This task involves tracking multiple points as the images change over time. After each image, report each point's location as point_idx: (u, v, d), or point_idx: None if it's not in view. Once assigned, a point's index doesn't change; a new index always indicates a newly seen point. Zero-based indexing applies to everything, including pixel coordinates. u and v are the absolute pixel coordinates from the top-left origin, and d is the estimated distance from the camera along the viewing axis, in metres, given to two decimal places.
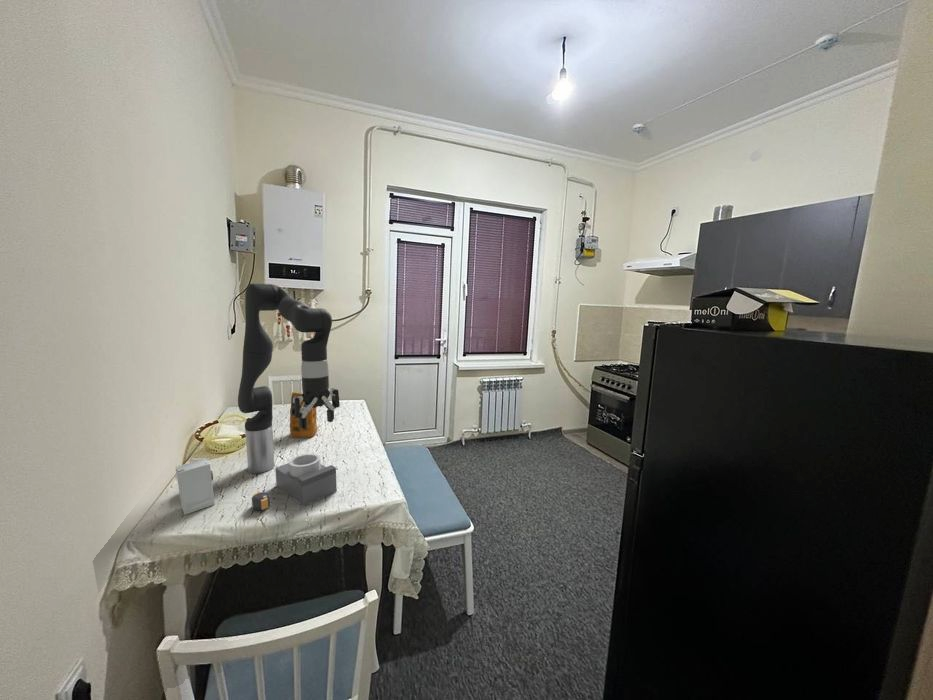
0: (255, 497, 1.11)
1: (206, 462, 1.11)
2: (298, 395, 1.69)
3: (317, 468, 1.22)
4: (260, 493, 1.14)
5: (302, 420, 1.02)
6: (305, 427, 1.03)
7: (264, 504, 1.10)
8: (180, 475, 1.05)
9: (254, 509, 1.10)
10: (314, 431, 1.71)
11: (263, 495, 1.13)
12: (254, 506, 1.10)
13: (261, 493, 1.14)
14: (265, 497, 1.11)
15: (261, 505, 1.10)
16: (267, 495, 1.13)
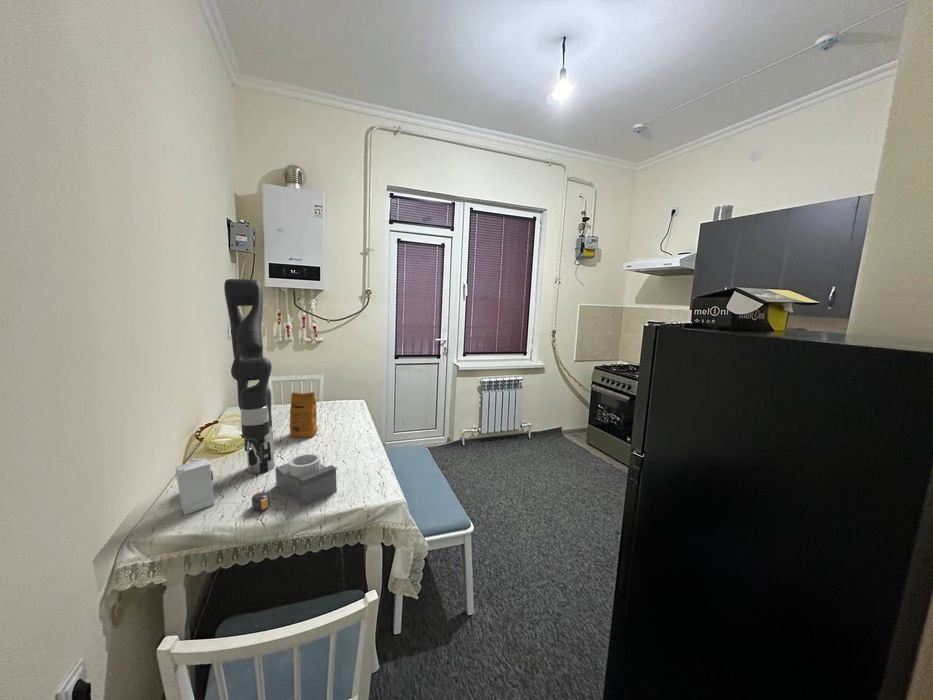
0: (255, 497, 1.11)
1: (206, 462, 1.11)
2: (298, 395, 1.69)
3: (317, 468, 1.22)
4: (260, 493, 1.14)
5: None
6: None
7: (264, 504, 1.10)
8: (180, 475, 1.05)
9: (254, 509, 1.10)
10: (314, 431, 1.71)
11: (263, 495, 1.13)
12: (254, 506, 1.10)
13: (261, 493, 1.14)
14: (265, 497, 1.11)
15: (261, 505, 1.10)
16: (267, 495, 1.13)
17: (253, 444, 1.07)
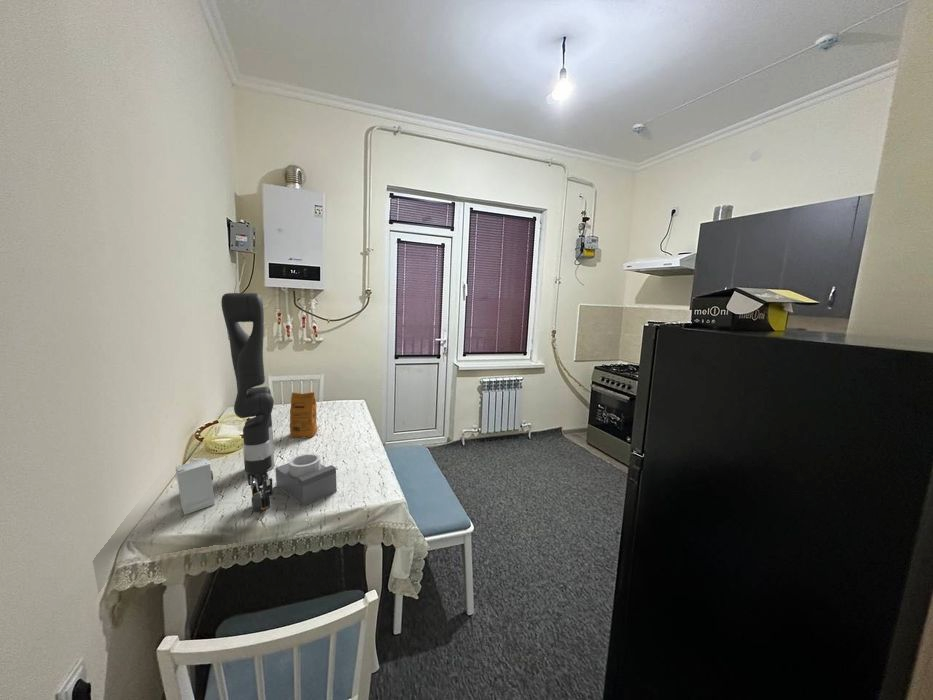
0: (255, 497, 1.11)
1: (206, 462, 1.11)
2: (298, 395, 1.69)
3: (317, 468, 1.22)
4: None
5: None
6: None
7: None
8: (180, 475, 1.05)
9: (254, 509, 1.10)
10: (314, 431, 1.71)
11: None
12: (254, 506, 1.10)
13: None
14: None
15: None
16: None
17: (256, 479, 1.08)
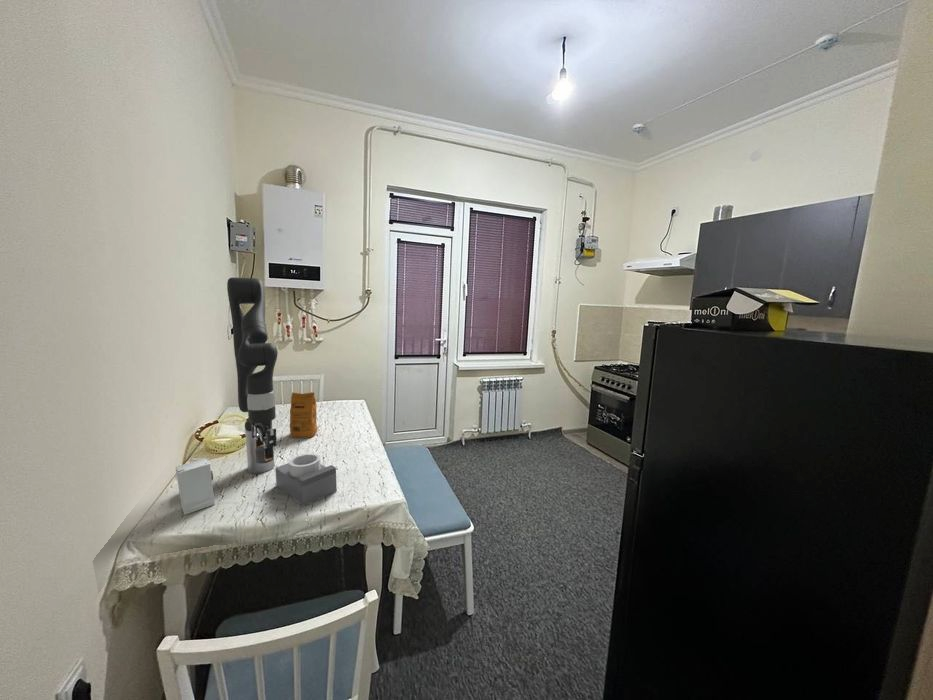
0: (259, 449, 1.11)
1: (206, 462, 1.11)
2: (298, 395, 1.69)
3: (317, 468, 1.22)
4: None
5: None
6: None
7: None
8: (180, 475, 1.05)
9: (257, 460, 1.10)
10: (314, 431, 1.71)
11: None
12: (257, 457, 1.09)
13: None
14: None
15: None
16: None
17: (259, 429, 1.08)
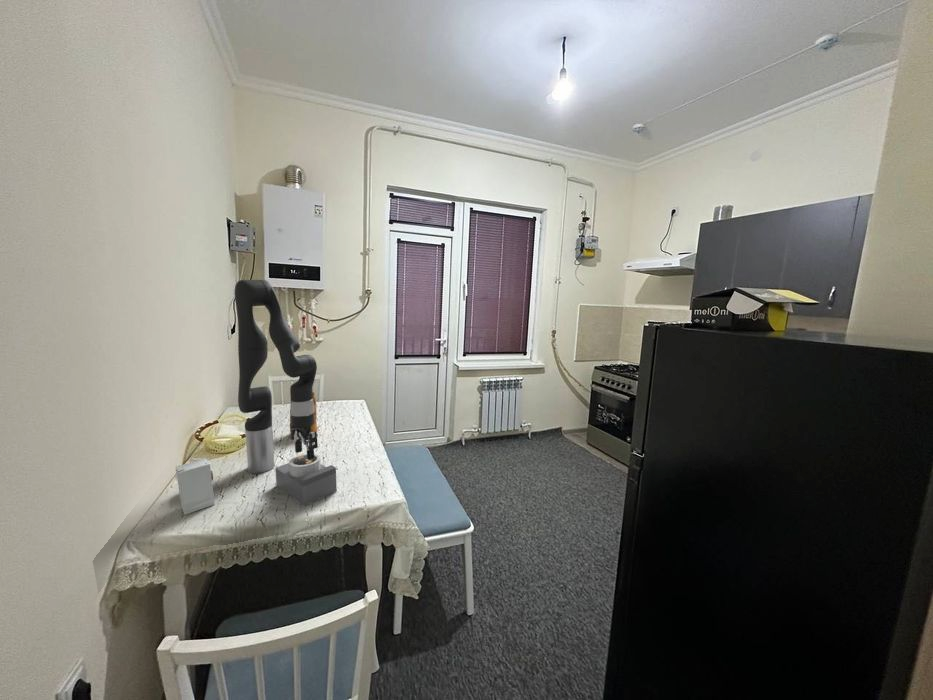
0: (300, 460, 1.22)
1: (206, 462, 1.11)
2: None
3: (317, 468, 1.22)
4: (303, 457, 1.24)
5: None
6: None
7: None
8: (180, 475, 1.05)
9: None
10: (314, 431, 1.71)
11: (306, 458, 1.23)
12: None
13: (304, 457, 1.24)
14: (310, 460, 1.22)
15: None
16: None
17: (301, 433, 1.19)
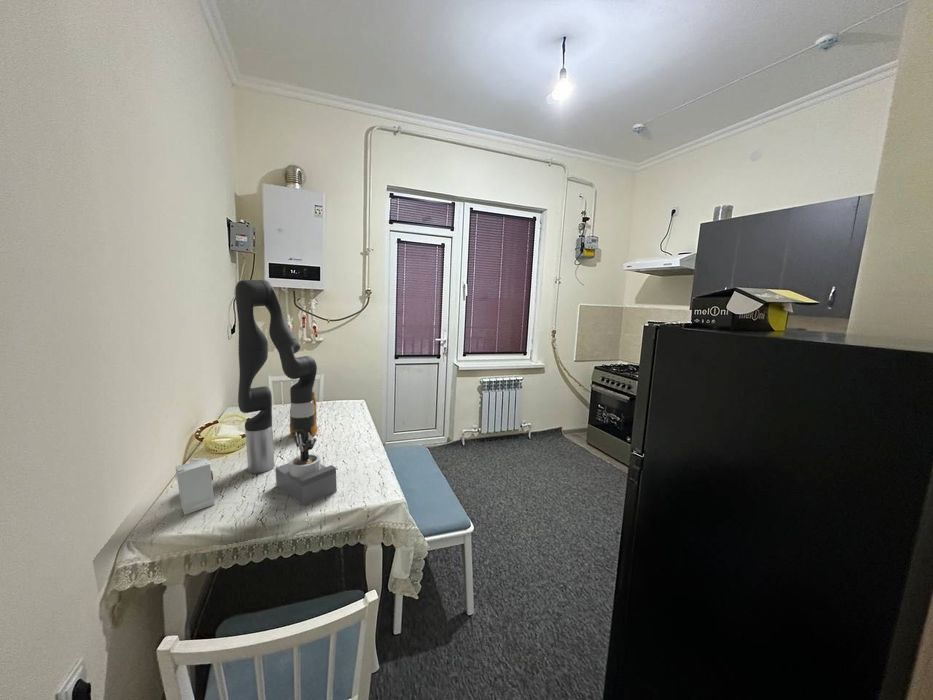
0: (300, 460, 1.22)
1: (206, 462, 1.11)
2: None
3: (317, 468, 1.22)
4: None
5: None
6: None
7: None
8: (180, 475, 1.05)
9: None
10: (314, 431, 1.71)
11: None
12: None
13: None
14: (310, 460, 1.22)
15: None
16: (310, 459, 1.23)
17: (301, 436, 1.19)
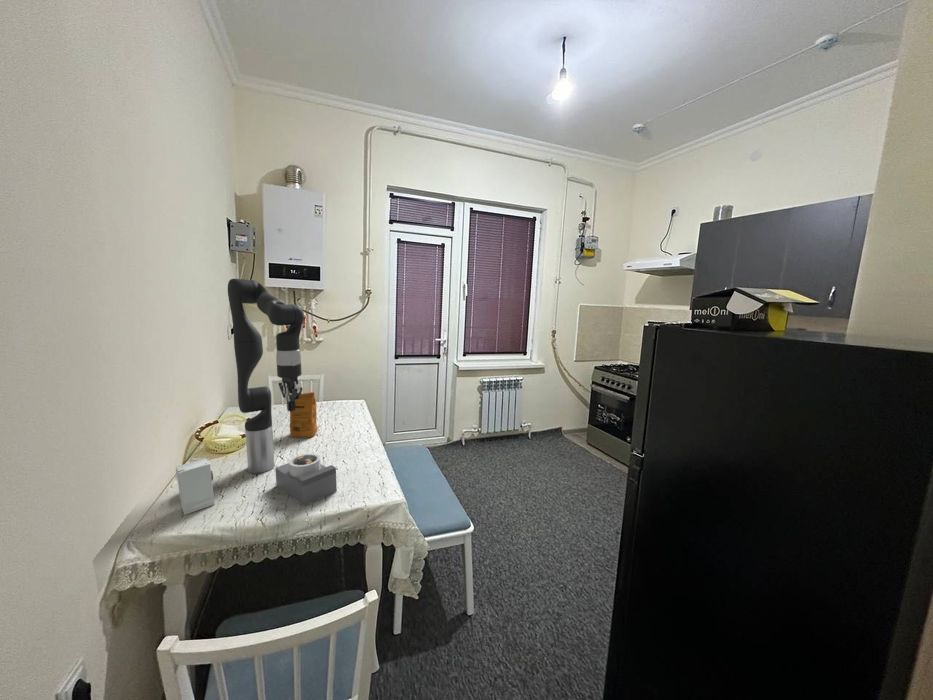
0: (300, 460, 1.22)
1: (206, 462, 1.11)
2: None
3: (317, 468, 1.22)
4: (303, 457, 1.24)
5: None
6: None
7: None
8: (180, 475, 1.05)
9: None
10: (314, 431, 1.71)
11: (306, 458, 1.23)
12: None
13: (304, 457, 1.24)
14: (310, 460, 1.22)
15: None
16: (310, 459, 1.23)
17: (287, 385, 1.17)
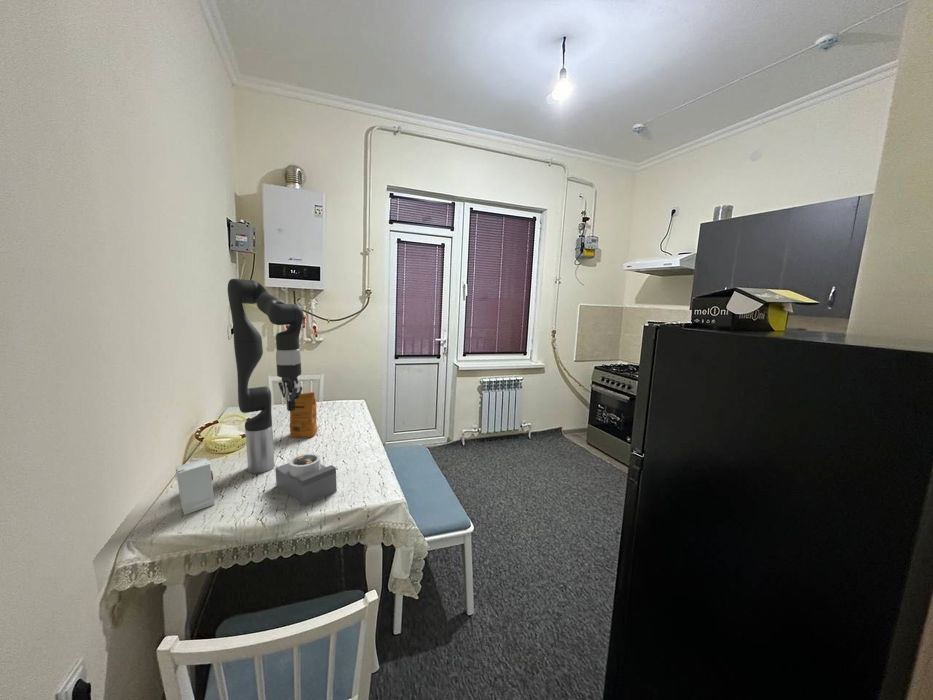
0: (300, 460, 1.22)
1: (206, 462, 1.11)
2: None
3: (317, 468, 1.22)
4: (303, 457, 1.24)
5: None
6: None
7: None
8: (180, 475, 1.05)
9: None
10: (314, 431, 1.71)
11: (306, 458, 1.23)
12: None
13: (304, 457, 1.24)
14: (310, 460, 1.22)
15: None
16: (310, 459, 1.23)
17: (287, 384, 1.17)
